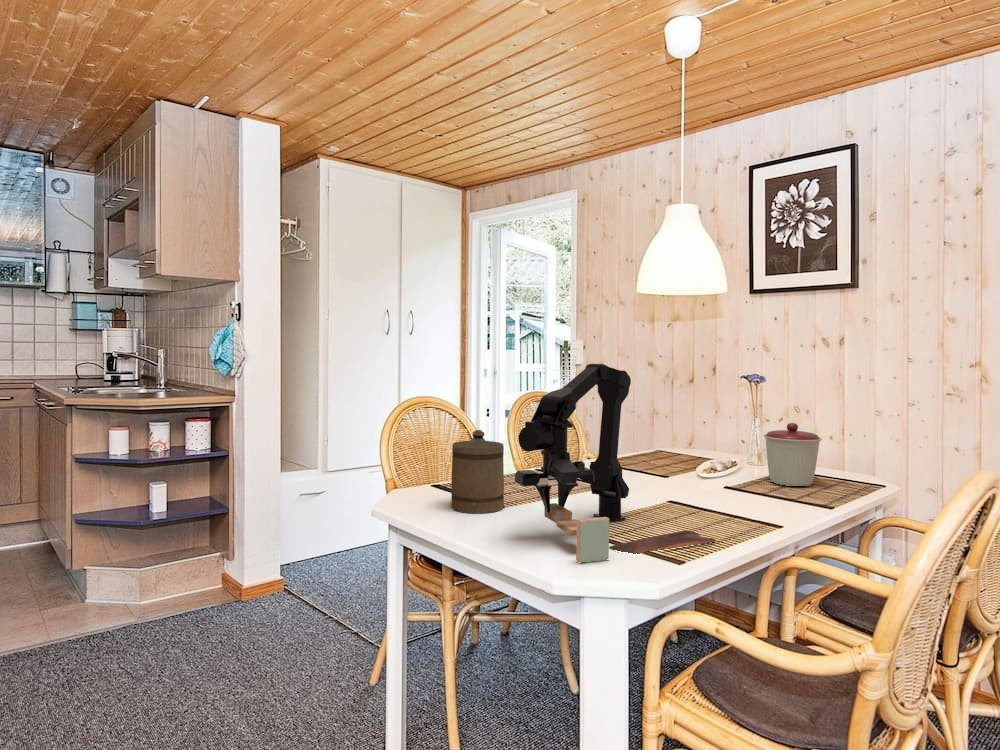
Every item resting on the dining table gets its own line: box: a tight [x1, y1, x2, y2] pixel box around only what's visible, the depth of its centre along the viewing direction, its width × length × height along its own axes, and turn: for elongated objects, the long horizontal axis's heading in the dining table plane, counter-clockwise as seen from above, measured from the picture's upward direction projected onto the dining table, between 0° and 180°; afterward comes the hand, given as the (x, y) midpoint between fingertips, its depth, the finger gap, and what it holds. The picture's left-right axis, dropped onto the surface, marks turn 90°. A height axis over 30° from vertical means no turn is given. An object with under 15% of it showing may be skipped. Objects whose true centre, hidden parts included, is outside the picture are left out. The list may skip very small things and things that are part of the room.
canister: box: [763, 422, 823, 487], centre depth 220 cm, size 18×18×21 cm
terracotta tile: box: [575, 517, 610, 563], centre depth 137 cm, size 2×7×9 cm, turn 110°
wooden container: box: [450, 429, 505, 514], centre depth 183 cm, size 15×15×22 cm
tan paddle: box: [543, 502, 577, 536], centre depth 150 cm, size 17×5×3 cm, turn 20°
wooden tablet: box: [609, 530, 717, 554], centre depth 150 cm, size 26×2×10 cm
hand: (554, 511), depth 155 cm, fingers closed on tan paddle, 3 cm apart
